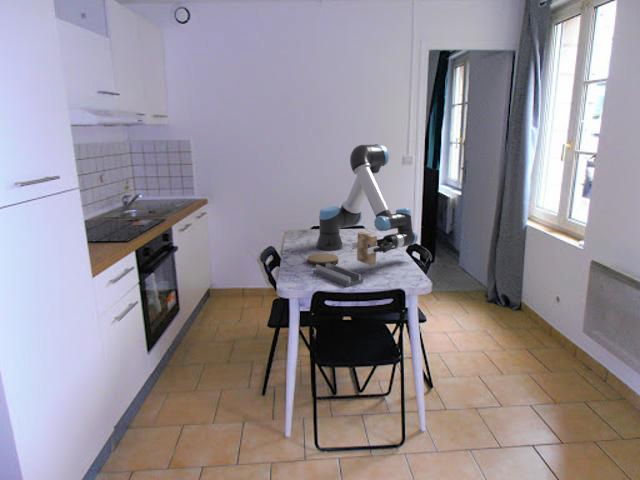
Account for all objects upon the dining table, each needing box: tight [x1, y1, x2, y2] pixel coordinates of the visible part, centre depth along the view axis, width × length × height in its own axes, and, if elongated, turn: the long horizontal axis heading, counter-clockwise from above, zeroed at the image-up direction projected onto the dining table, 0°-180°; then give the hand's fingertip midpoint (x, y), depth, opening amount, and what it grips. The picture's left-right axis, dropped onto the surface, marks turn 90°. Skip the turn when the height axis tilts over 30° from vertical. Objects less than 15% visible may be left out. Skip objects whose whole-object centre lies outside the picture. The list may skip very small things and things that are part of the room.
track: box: [312, 263, 364, 288], centre depth 208 cm, size 24×10×4 cm, turn 37°
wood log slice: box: [306, 252, 339, 268], centre depth 232 cm, size 16×16×3 cm
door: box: [356, 231, 378, 266], centre depth 216 cm, size 10×3×14 cm, turn 37°
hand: (360, 248), depth 213 cm, fingers closed on door, 10 cm apart
